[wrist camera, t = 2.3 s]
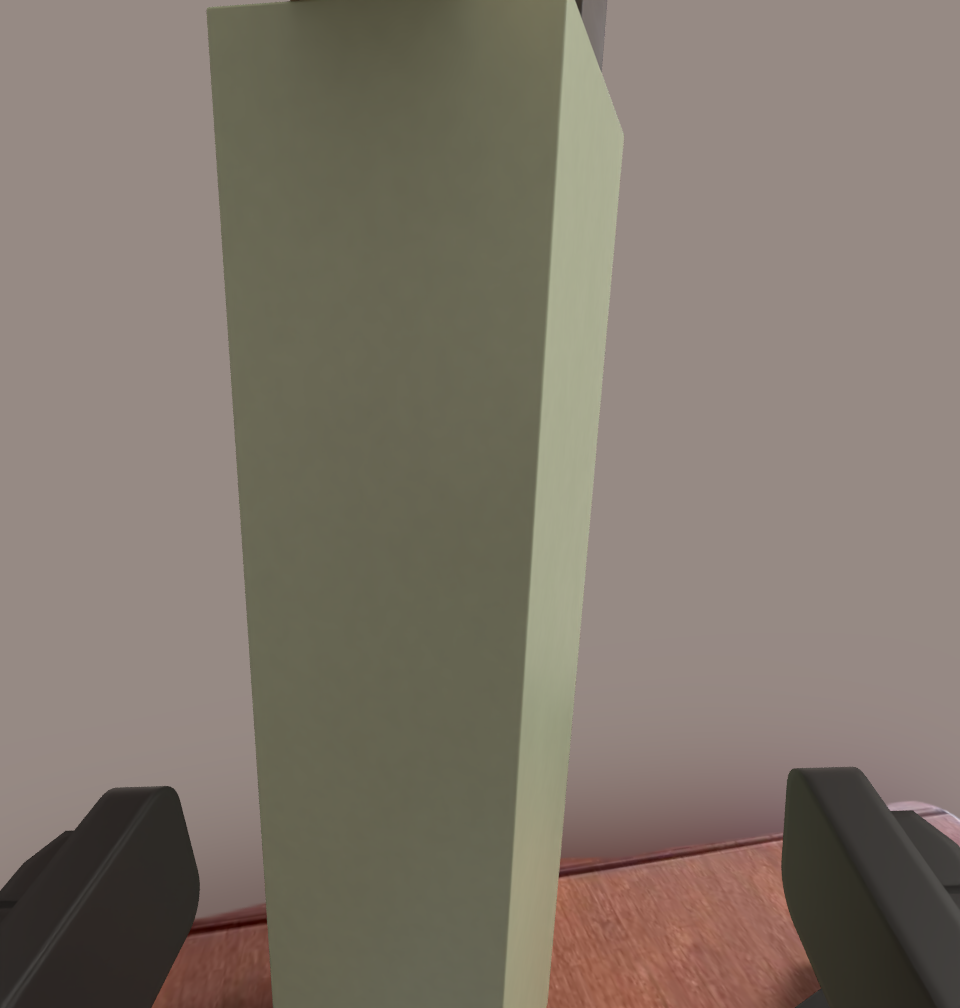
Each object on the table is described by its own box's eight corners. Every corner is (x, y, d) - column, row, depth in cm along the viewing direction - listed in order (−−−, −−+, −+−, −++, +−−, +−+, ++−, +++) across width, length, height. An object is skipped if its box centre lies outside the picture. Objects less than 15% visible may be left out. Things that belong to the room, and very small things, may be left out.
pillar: (482, 1337, 19) (568, -22, 10) (289, 1255, 21) (204, 5, 11) (547, 1001, 28) (624, 133, 19) (410, 960, 30) (419, 137, 21)
